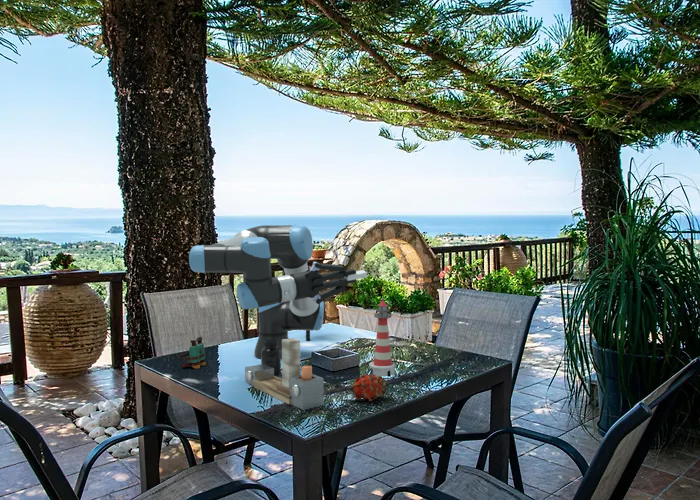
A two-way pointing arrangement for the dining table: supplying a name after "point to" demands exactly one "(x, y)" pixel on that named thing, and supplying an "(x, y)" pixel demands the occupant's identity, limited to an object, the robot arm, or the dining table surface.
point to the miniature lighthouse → (382, 344)
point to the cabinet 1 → (258, 373)
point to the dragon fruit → (369, 387)
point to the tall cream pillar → (289, 363)
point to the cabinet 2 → (306, 392)
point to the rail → (272, 388)
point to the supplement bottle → (271, 356)
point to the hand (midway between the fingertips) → (364, 273)
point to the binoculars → (194, 354)
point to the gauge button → (306, 372)
